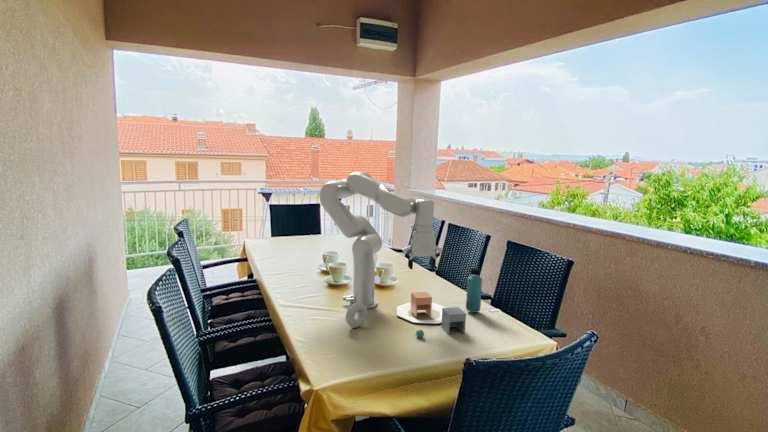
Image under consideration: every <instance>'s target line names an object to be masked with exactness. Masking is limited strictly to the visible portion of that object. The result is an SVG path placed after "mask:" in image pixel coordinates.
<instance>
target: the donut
mask: <svg viewBox="0 0 768 432" xmlns="http://www.w3.org/2000/svg"><path fill="white" fill-rule="evenodd" d="M357 312H358V316H357V317H356V318H355V315H356V314H357ZM367 317H368V309H367V308H366V306H365V305H364V304H362V303H355V304H352V305H349V307H348V308H347V310H346V312H345V322H346V324H347V325H348V326H349V327H350V328H353V329H355V328H356V329H357V328H360V327H361V326H362V325H363V324H364V323H365V322H366V320H367Z"/></svg>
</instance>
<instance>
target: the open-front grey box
mask: <svg viewBox="0 0 768 432" xmlns="http://www.w3.org/2000/svg"><path fill="white" fill-rule="evenodd" d="M466 319H467V313H466V312H465V311H464V310H463V309H462V308H461V307H459V306H456V307H453V306H451V307H446V308H442V323H441V329H442V330H443V331H444V332H445V333H446V335H448V336H450V331H451V328H458V330H459V331H460V332H461V333H462V334H463V335H464V334H465V333H466V324H467V323H466Z"/></svg>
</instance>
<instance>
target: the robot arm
mask: <svg viewBox="0 0 768 432" xmlns="http://www.w3.org/2000/svg"><path fill="white" fill-rule="evenodd" d="M357 194H359V195H361V196H363V197H365V198H367V199H369V200H371V201H373V202H375V203H376V204H377V205H378V206H379V207H380V208H382V209H383V210H385V211H387V212H389V213H391V214H393V215H394V216H396V217H397V216H398V217H402V218H406V217H408V216H411V215H415V217H414V225H411V230H414V231H412V234H411V239H410V244H409V245H407V246H406V247H404V248H402V252H403V254H404V256H405V257H406V258H407V259H408V261H407V262H408V263H407V267H408V269H409V270H413V268H414V267H413V265H414V260H413V259H414V257H431V258H430V268H431V269H432V270H434V269H435V267H436V263H437V260H438V258H439V257H440V255H442V254H441V253H442V252H443V248H441V247H439V246H438V245H437V244H436V233H435V231H433V230H434V214H435V213H434V212H435V202H434V200H432V199H429V198H421V199H420V198H416V197H412V196H409V197H408V196H407V197H403V198H402V197H400V196H398V195H396V194H393V193H392V192H390V191H389V190H387V189H386V185H385V184H384V183H382V182H380V181H378V180H376V179H374V178H373V177H372V176H371V175H370V173H368V172H366V171H355V172H354V171H353V172H351V173H350V174H349V175H348V176H347V178H344V179H341V180H339V179H338V180H330V181H328V182H325V183H324V184H322V187H321V188H320V191H319V201H320V204H321V206H322V208H323V209H324V211H325V212H326V213H327V215H329V217H330V218H331V219H332V221H333V223H334V224H335V225H336V227H337V228H338V229H339V231H340V232H341V233H342V235H343V236H344V237H346V238H348V239H353V238H356V239H355V241H354V242H353V244H352V246H351V247H352V248H351V250H352V251H351V253H352V261H353V281H352V282H353V285H352V287H353V288H352V289H353V290H352V293H351V295H349V296H348V295H343V296H342V301H346V302H347V303H348V302H349V306H351V305H352V304H355V303H362V304H364V305H365V306H366V308H367V310H368V309H369V310H370V309H373V308H375V307H377V305H378V301H377V300H376V299H375V281H376V280H375V278H376V277H375V276H376V275H375V273H376V272H375V270H376V269H375V267H376V266H375V265H376V264H375V260H374V259H375V258H374V254H376V253H378V252H379V251H381V250H382V247H383V240H382V237H381V236H380V234H379V232H377V230H376V229H375V227H374V225H372V224H371V222H370V221H369V220H368V219H367V217H364V216H363V215H361V214H356V215H353V213H352V212H351V211H350V210H349V208H348V207H347V206H346V205H345V204H344V203H343V202H342V201H341V200H340V199H346V198H349V197H352V196H354V195H357ZM436 250H437V252H436ZM408 251H409V252H410V253H408Z"/></svg>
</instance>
